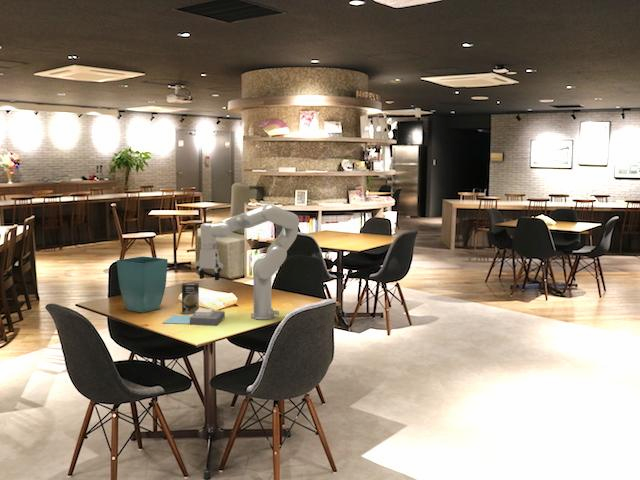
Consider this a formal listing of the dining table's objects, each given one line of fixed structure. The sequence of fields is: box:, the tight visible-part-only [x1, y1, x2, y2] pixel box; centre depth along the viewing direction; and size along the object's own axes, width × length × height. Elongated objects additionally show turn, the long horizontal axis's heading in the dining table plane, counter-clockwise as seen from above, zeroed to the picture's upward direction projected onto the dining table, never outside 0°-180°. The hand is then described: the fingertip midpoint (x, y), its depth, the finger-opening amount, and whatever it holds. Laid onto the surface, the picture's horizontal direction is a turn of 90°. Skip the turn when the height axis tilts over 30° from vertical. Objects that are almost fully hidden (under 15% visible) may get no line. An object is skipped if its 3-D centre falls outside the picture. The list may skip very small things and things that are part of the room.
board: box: [189, 310, 226, 326], centre depth 329 cm, size 14×16×4 cm
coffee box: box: [181, 282, 200, 315], centre depth 346 cm, size 9×6×16 cm
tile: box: [195, 308, 215, 316], centre depth 329 cm, size 8×7×2 cm
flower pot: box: [116, 255, 169, 313], centre depth 351 cm, size 20×20×28 cm
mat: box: [162, 314, 192, 325], centre depth 331 cm, size 14×16×1 cm
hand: (209, 279), depth 330 cm, fingers open, 9 cm apart
